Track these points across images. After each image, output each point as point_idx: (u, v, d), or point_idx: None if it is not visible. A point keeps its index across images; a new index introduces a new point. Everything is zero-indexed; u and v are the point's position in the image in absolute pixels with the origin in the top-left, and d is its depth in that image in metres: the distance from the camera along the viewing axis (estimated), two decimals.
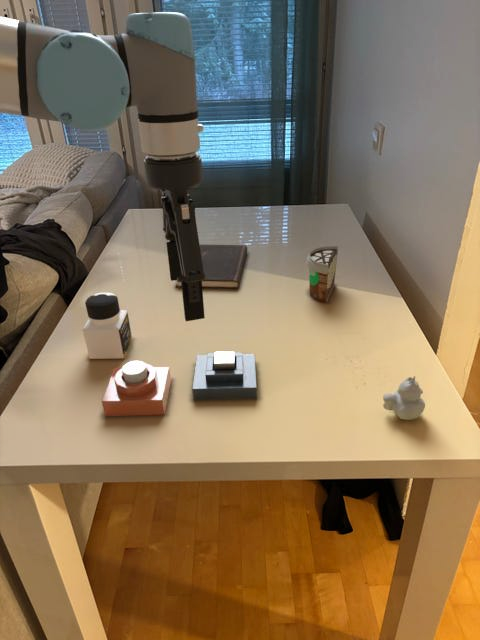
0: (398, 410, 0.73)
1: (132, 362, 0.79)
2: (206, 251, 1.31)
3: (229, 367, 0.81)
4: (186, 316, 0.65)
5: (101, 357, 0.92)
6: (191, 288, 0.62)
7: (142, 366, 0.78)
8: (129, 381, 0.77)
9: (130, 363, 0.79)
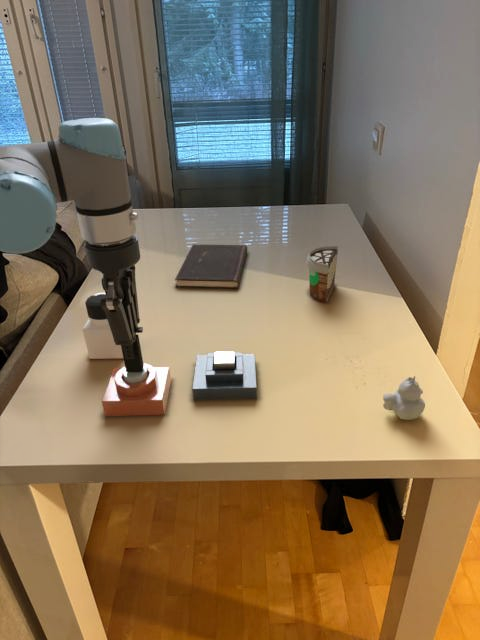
0: (398, 410, 0.73)
1: None
2: (206, 251, 1.31)
3: (229, 367, 0.81)
4: (126, 368, 0.77)
5: (101, 357, 0.92)
6: (125, 348, 0.74)
7: (143, 369, 0.79)
8: None
9: None
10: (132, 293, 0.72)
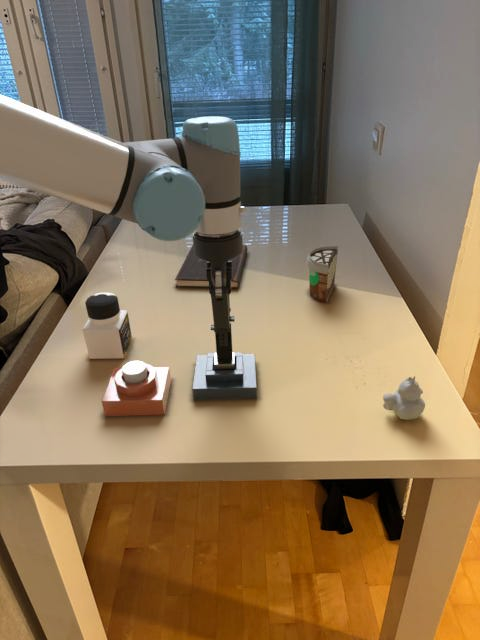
0: (398, 410, 0.73)
1: (132, 362, 0.79)
2: None
3: (229, 368, 0.81)
4: (217, 356, 0.81)
5: (101, 357, 0.92)
6: (221, 336, 0.78)
7: (142, 366, 0.78)
8: (129, 381, 0.77)
9: (130, 363, 0.79)
10: None
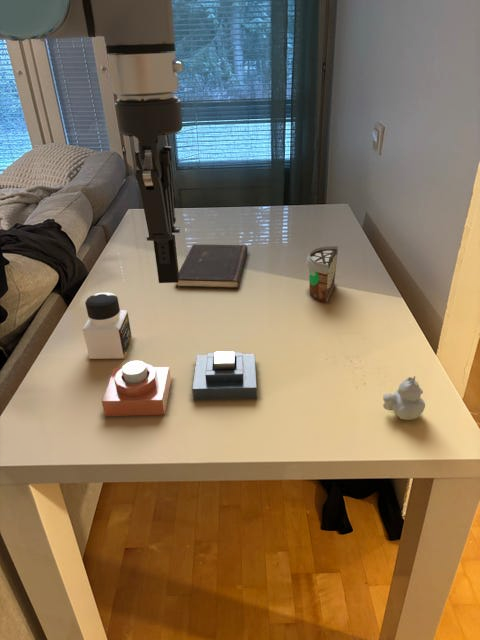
0: (398, 410, 0.73)
1: (132, 362, 0.79)
2: (206, 251, 1.31)
3: (229, 367, 0.81)
4: (159, 278, 0.65)
5: (101, 357, 0.92)
6: (160, 248, 0.61)
7: (142, 366, 0.78)
8: (129, 381, 0.77)
9: (130, 363, 0.79)
10: (170, 178, 0.59)
